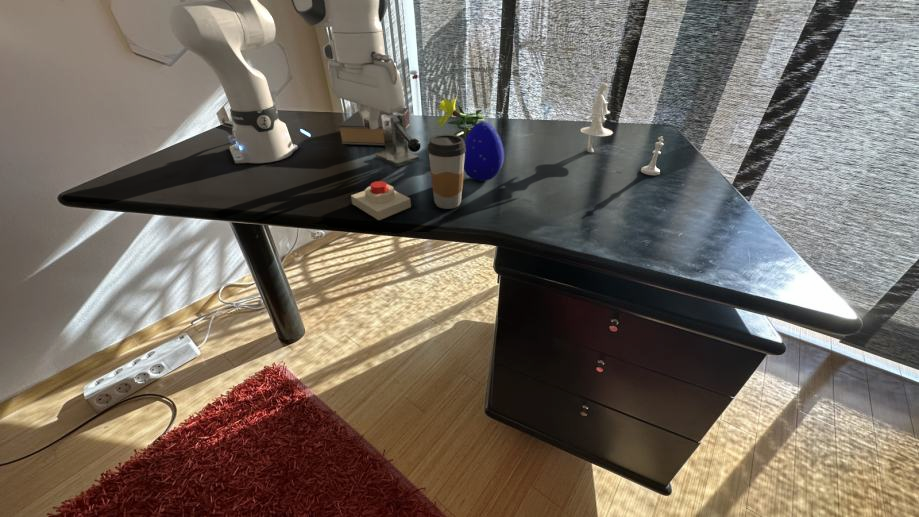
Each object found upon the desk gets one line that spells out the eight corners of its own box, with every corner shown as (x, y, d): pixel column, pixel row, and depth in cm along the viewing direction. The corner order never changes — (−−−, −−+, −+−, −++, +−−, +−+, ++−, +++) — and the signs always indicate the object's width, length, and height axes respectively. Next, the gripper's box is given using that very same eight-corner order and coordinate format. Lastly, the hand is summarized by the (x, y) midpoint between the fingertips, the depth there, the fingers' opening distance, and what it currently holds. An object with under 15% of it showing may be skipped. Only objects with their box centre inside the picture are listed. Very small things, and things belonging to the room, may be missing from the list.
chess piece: (648, 176, 99) (660, 139, 93) (636, 169, 103) (647, 134, 97) (663, 174, 100) (676, 138, 94) (651, 167, 104) (663, 132, 98)
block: (352, 203, 85) (349, 188, 82) (383, 192, 90) (381, 177, 88) (378, 220, 78) (376, 204, 76) (411, 207, 84) (409, 191, 81)
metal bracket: (419, 160, 108) (416, 115, 100) (397, 167, 103) (393, 121, 96) (397, 151, 114) (392, 108, 107) (376, 157, 110) (370, 113, 102)
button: (368, 191, 82) (367, 184, 81) (381, 186, 84) (380, 179, 83) (377, 196, 80) (376, 189, 79) (390, 191, 82) (389, 184, 81)
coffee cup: (464, 195, 89) (465, 133, 80) (466, 211, 82) (467, 146, 73) (430, 195, 89) (427, 134, 80) (429, 211, 82) (426, 146, 73)
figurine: (612, 159, 109) (630, 87, 97) (579, 157, 110) (594, 86, 98) (603, 145, 120) (619, 79, 108) (574, 143, 121) (586, 78, 109)
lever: (421, 153, 102) (424, 143, 99) (411, 156, 100) (414, 146, 97) (394, 122, 105) (397, 111, 102) (384, 124, 103) (386, 114, 100)
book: (410, 126, 137) (408, 108, 133) (393, 148, 116) (391, 127, 112) (365, 124, 138) (363, 106, 134) (342, 146, 118) (338, 125, 114)
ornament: (506, 176, 98) (510, 120, 89) (493, 189, 91) (497, 129, 83) (469, 169, 102) (470, 114, 93) (454, 181, 95) (454, 123, 87)
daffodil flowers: (508, 135, 131) (489, 137, 99) (473, 154, 136) (444, 161, 105) (488, 91, 128) (462, 78, 96) (453, 112, 133) (418, 106, 102)
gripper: (409, 53, 61) (415, 135, 69) (346, 45, 73) (358, 115, 81) (378, 56, 58) (388, 142, 66) (318, 47, 70) (332, 121, 78)
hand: (371, 127), depth 74 cm, fingers closed
